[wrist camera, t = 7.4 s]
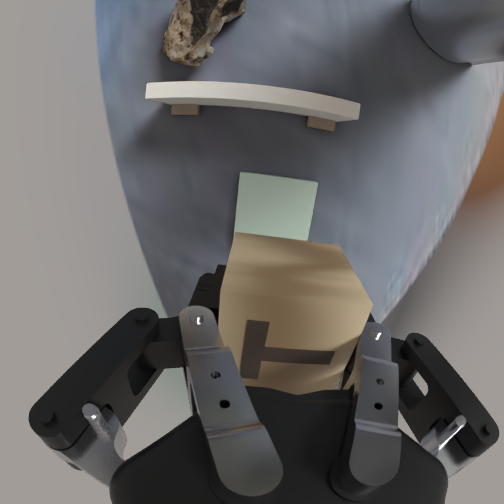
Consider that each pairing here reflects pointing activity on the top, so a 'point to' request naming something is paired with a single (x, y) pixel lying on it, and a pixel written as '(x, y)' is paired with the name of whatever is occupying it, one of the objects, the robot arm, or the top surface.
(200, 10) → the rock
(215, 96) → the screen
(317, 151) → the top surface
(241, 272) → the letter cube
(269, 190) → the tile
